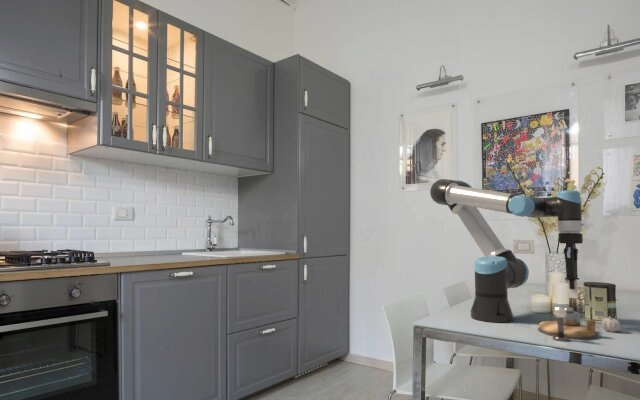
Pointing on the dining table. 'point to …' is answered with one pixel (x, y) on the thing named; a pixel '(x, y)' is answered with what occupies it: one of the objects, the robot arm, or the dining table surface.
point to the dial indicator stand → (560, 324)
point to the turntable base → (570, 337)
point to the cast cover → (571, 317)
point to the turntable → (570, 329)
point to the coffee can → (599, 301)
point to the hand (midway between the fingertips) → (573, 297)
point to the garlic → (611, 324)
